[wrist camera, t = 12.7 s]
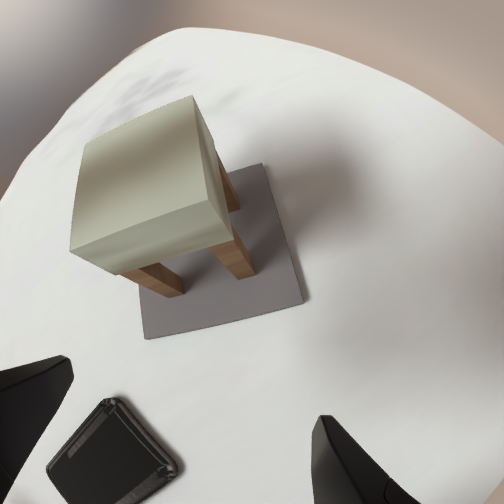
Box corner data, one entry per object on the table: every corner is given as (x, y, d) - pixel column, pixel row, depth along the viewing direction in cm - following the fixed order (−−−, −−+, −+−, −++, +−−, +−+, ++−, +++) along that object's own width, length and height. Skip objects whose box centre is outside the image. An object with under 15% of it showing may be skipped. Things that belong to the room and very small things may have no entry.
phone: (180, 473, 14) (92, 531, 12) (186, 468, 15) (98, 527, 13) (108, 391, 17) (42, 468, 15) (116, 390, 18) (49, 467, 16)
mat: (303, 303, 17) (303, 302, 17) (148, 339, 19) (144, 339, 18) (262, 166, 22) (261, 162, 21) (138, 208, 23) (135, 205, 22)
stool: (258, 276, 18) (208, 199, 9) (167, 300, 19) (69, 251, 10) (238, 194, 21) (192, 94, 12) (159, 220, 21) (84, 144, 13)
